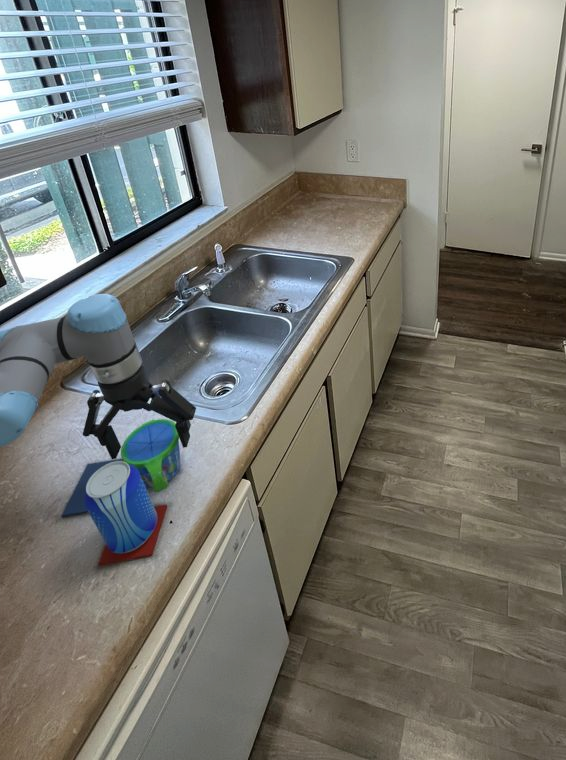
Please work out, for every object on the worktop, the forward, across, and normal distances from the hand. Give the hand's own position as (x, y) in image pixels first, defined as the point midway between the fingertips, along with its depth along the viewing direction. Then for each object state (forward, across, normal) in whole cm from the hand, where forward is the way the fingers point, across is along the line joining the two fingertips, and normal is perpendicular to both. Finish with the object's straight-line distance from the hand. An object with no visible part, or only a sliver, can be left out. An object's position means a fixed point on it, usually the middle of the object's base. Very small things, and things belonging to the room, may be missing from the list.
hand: (152, 447), depth 90 cm
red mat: (+8, -1, -12) cm, 15 cm away
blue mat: (+8, -11, -1) cm, 14 cm away
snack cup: (+9, 0, 0) cm, 9 cm away
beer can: (+8, -1, -12) cm, 15 cm away
